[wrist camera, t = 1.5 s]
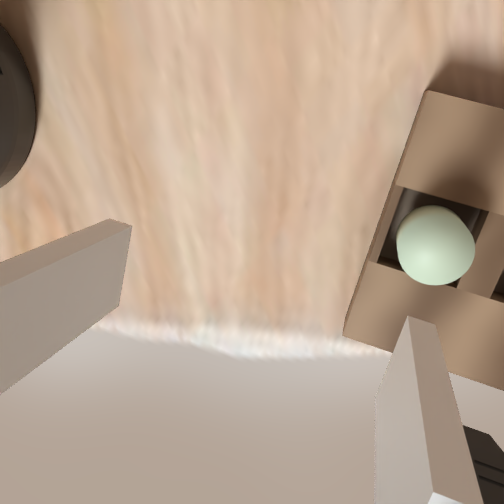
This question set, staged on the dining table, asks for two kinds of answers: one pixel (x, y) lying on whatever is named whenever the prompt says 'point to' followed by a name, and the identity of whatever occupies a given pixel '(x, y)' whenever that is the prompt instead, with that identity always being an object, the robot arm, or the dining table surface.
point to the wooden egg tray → (475, 219)
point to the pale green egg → (434, 245)
